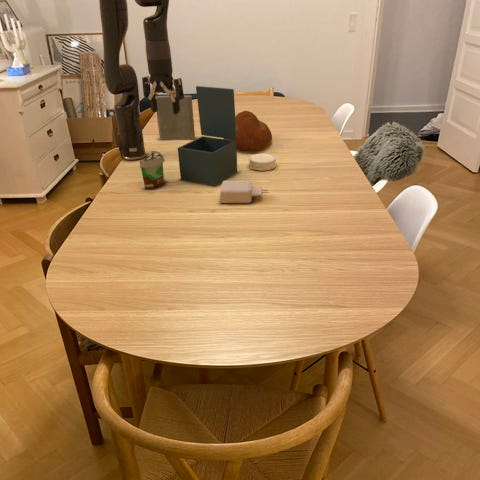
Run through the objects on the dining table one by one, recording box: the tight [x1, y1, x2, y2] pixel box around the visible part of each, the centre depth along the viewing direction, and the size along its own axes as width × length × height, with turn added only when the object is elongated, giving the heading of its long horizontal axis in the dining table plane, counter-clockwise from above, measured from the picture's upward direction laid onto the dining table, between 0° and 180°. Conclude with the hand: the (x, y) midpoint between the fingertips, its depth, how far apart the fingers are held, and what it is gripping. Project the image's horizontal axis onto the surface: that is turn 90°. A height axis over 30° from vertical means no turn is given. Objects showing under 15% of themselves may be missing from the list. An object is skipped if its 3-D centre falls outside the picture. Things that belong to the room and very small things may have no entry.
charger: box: [220, 180, 270, 204], centre depth 152 cm, size 5×9×15 cm
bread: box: [222, 110, 273, 152], centre depth 199 cm, size 21×33×12 cm, turn 3°
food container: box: [139, 150, 165, 190], centre depth 162 cm, size 12×6×10 cm, turn 168°
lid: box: [195, 85, 237, 140], centre depth 166 cm, size 16×15×6 cm
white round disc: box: [248, 153, 277, 172], centre depth 176 cm, size 10×10×4 cm
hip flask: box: [155, 90, 196, 141], centre depth 205 cm, size 16×4×20 cm, turn 88°
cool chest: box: [177, 135, 238, 187], centre depth 168 cm, size 16×15×11 cm
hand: (165, 112), depth 155 cm, fingers open, 8 cm apart
